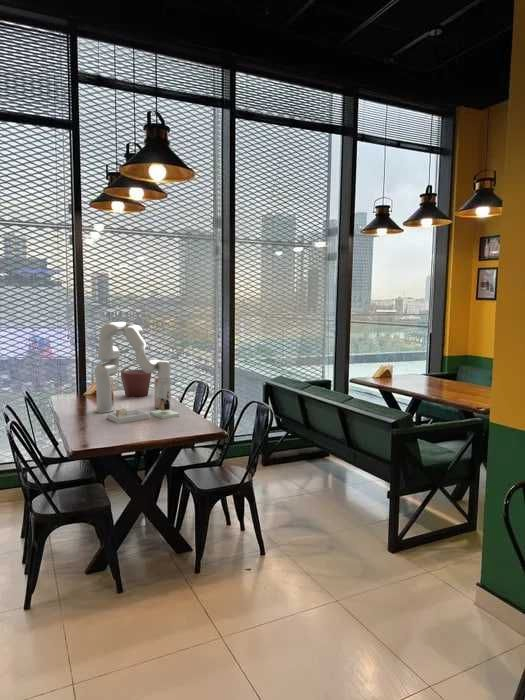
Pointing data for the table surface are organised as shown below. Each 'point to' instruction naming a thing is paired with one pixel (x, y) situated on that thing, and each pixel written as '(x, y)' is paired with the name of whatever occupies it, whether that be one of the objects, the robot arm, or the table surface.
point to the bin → (129, 416)
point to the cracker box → (156, 393)
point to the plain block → (121, 413)
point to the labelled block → (162, 405)
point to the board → (164, 413)
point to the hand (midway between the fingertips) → (164, 408)
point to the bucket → (135, 382)
